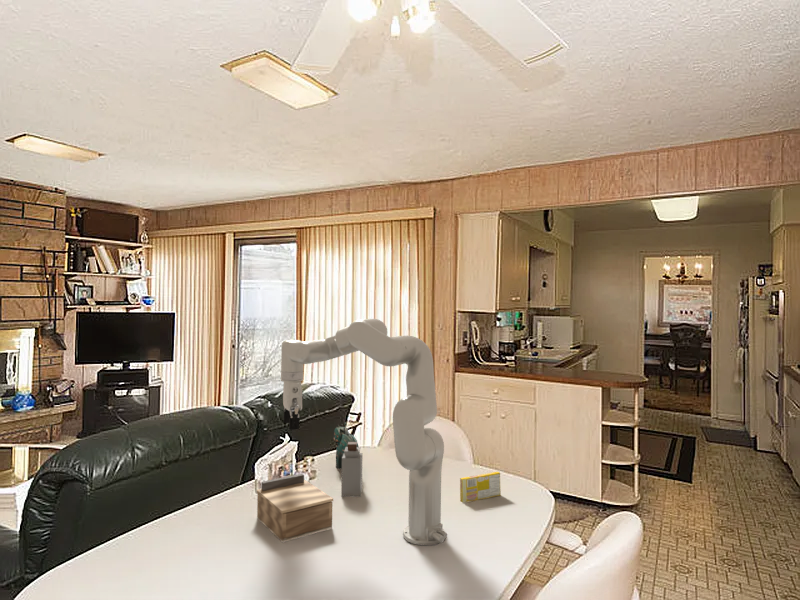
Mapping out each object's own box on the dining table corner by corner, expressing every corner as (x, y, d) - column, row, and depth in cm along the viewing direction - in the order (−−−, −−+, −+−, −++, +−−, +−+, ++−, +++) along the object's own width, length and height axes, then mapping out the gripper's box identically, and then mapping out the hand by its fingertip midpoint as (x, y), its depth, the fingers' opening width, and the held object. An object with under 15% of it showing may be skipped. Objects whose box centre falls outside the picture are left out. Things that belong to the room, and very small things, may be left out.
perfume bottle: (360, 496, 184) (360, 445, 184) (341, 496, 184) (341, 445, 184) (362, 489, 191) (362, 440, 191) (343, 489, 191) (344, 440, 191)
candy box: (497, 493, 188) (497, 471, 188) (500, 495, 187) (501, 472, 187) (459, 501, 181) (459, 477, 181) (462, 503, 179) (463, 479, 179)
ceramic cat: (331, 466, 217) (332, 418, 217) (346, 464, 220) (346, 417, 220) (349, 481, 199) (350, 429, 200) (365, 479, 202) (365, 427, 202)
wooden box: (332, 528, 158) (332, 502, 158) (282, 542, 149) (282, 514, 149) (303, 506, 174) (303, 483, 174) (257, 518, 165) (257, 493, 165)
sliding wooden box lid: (333, 501, 158) (333, 490, 158) (281, 513, 149) (282, 502, 149) (304, 482, 175) (304, 472, 175) (256, 492, 165) (256, 481, 165)
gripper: (308, 379, 172) (307, 431, 172) (297, 372, 187) (296, 419, 188) (286, 380, 169) (284, 433, 169) (276, 372, 184) (275, 421, 185)
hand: (291, 425), depth 178 cm, fingers open, 9 cm apart
